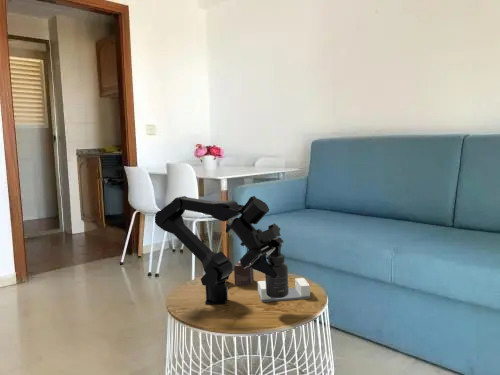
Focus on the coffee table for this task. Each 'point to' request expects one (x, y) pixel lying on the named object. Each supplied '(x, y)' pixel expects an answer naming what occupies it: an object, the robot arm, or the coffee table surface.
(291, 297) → the rail plate
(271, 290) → the supplement bottle
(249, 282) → the box
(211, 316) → the coffee table surface
